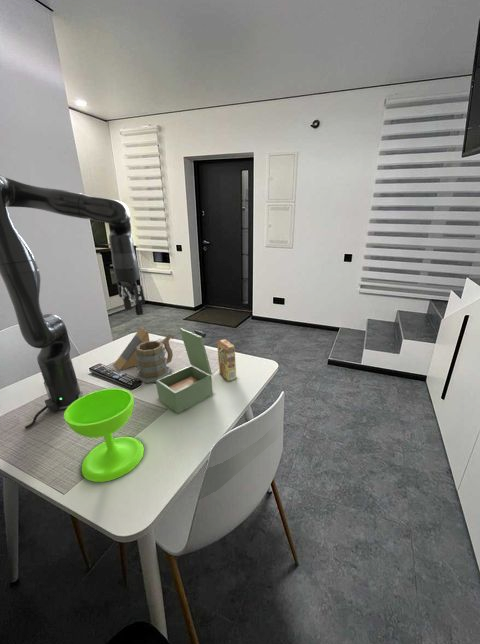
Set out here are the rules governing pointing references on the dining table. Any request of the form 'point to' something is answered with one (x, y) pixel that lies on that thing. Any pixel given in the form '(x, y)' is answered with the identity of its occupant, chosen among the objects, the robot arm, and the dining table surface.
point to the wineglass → (105, 433)
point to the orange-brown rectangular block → (183, 383)
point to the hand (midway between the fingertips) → (134, 312)
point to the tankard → (153, 359)
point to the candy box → (226, 359)
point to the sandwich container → (132, 350)
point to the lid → (196, 349)
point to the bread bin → (187, 394)
